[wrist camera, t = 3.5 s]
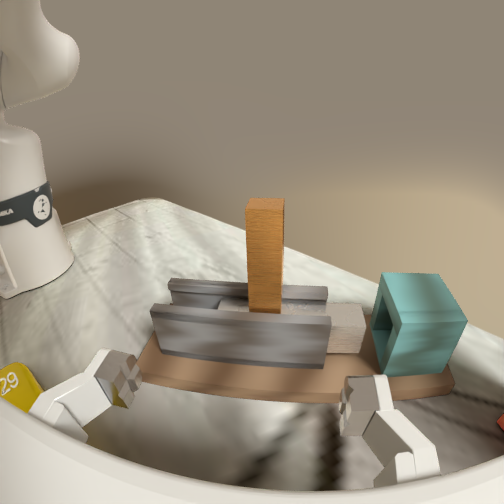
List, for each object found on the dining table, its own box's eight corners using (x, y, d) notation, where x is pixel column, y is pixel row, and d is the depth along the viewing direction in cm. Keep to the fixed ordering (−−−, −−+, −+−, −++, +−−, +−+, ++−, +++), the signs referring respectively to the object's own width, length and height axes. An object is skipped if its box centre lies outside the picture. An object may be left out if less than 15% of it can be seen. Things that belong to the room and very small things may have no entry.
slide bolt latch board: (137, 380, 23) (111, 316, 20) (172, 314, 32) (160, 254, 29) (448, 394, 20) (484, 332, 16) (421, 324, 28) (440, 266, 25)
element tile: (8, 570, 3) (-35, 554, 1) (-49, 445, 11) (-78, 416, 9) (126, 491, 14) (97, 468, 12) (40, 384, 22) (18, 350, 19)
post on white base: (217, 345, 24) (201, 209, 19) (224, 323, 27) (213, 196, 22) (358, 353, 23) (388, 216, 17) (354, 329, 25) (377, 202, 20)
